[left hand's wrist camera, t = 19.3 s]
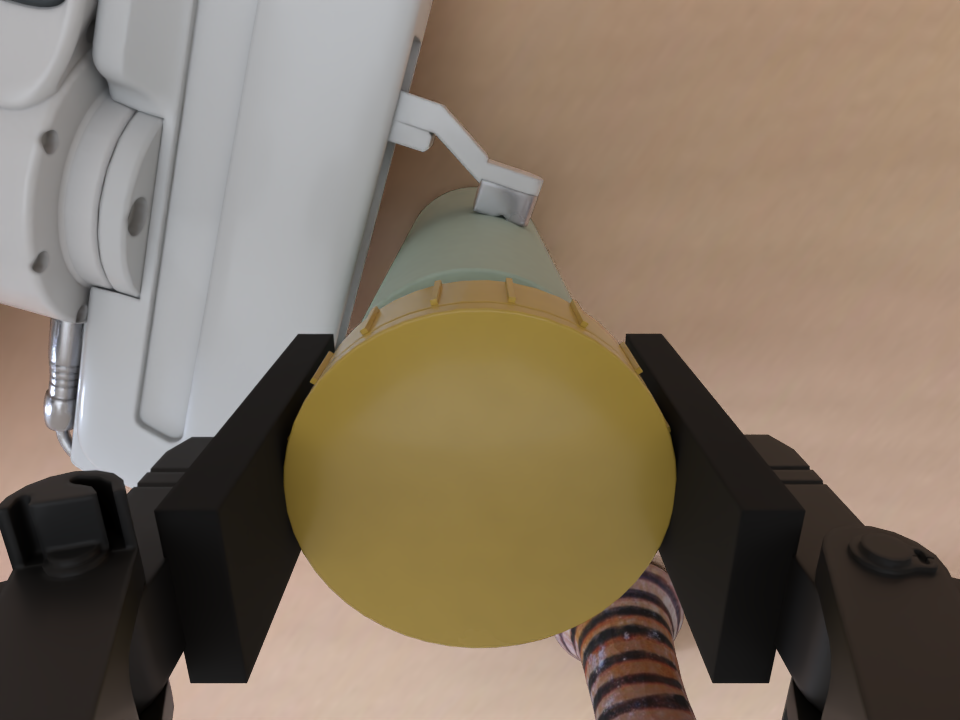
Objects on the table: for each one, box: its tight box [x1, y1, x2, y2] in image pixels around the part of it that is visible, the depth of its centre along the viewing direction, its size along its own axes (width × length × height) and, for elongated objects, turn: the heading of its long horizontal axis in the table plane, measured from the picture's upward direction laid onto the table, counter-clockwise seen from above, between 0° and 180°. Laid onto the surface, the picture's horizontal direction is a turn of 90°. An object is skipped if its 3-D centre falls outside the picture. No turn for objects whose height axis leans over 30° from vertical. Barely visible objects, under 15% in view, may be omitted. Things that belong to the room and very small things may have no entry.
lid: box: [283, 278, 676, 648], centre depth 11 cm, size 6×6×2 cm
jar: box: [361, 187, 572, 323], centre depth 20 cm, size 6×6×16 cm
